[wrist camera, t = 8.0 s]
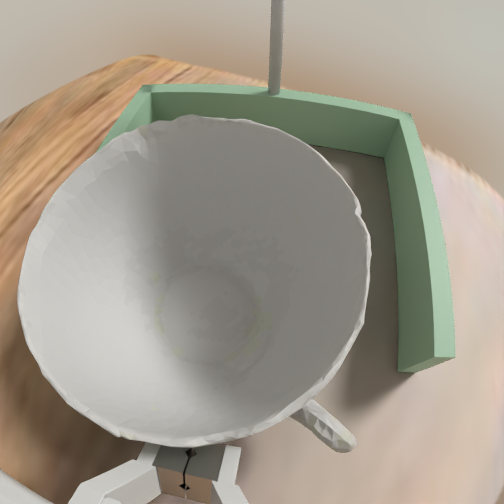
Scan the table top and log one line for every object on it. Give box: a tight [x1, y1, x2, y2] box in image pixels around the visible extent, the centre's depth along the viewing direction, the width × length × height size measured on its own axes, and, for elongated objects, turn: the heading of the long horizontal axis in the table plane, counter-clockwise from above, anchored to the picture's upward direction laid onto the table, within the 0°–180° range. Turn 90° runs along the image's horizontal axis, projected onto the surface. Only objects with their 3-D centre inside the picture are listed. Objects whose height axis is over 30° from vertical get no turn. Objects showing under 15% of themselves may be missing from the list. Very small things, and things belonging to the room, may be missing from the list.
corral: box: [96, 0, 455, 373], centre depth 13 cm, size 20×17×16 cm
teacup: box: [17, 114, 372, 453], centre depth 13 cm, size 15×12×8 cm
